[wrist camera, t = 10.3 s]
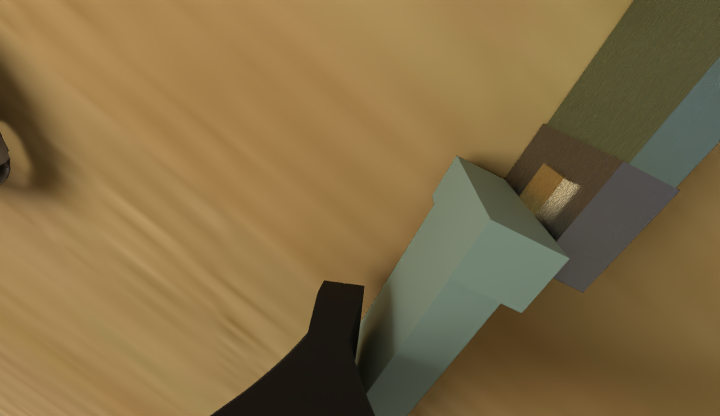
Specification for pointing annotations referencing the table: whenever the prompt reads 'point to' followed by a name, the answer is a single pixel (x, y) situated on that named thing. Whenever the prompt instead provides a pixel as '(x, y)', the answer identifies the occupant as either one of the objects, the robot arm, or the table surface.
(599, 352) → the table surface
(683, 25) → the latch stile
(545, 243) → the sage green stepped bar
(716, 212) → the table surface
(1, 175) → the wristwatch
